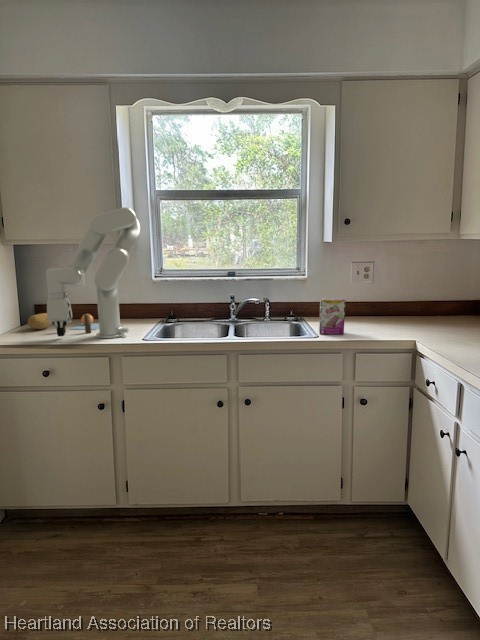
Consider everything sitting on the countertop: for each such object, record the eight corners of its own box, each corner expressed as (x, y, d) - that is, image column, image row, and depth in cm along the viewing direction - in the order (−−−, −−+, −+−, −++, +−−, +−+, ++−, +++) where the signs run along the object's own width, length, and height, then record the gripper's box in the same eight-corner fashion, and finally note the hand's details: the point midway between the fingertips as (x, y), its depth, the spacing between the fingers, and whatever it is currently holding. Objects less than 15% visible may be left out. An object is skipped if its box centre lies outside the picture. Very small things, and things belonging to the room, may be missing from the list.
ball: (95, 313, 231) (90, 315, 225) (94, 324, 232) (90, 326, 226) (84, 312, 232) (79, 314, 226) (83, 323, 233) (79, 325, 227)
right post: (92, 332, 212) (90, 314, 211) (89, 333, 210) (88, 315, 208) (87, 332, 213) (85, 314, 211) (84, 333, 210) (83, 315, 208)
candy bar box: (319, 334, 201) (320, 299, 198) (318, 332, 206) (319, 298, 203) (344, 335, 200) (345, 299, 197) (342, 332, 205) (344, 298, 202)
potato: (58, 326, 228) (57, 311, 226) (41, 332, 214) (40, 316, 213) (41, 325, 229) (40, 310, 228) (24, 331, 216) (22, 315, 214)
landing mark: (107, 324, 232) (107, 323, 232) (95, 329, 218) (95, 329, 218) (82, 323, 233) (82, 323, 233) (69, 329, 220) (69, 328, 220)
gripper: (77, 295, 198) (80, 334, 202) (46, 294, 200) (50, 333, 204) (69, 297, 191) (72, 338, 195) (37, 297, 193) (41, 337, 196)
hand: (61, 335), depth 199 cm, fingers closed
